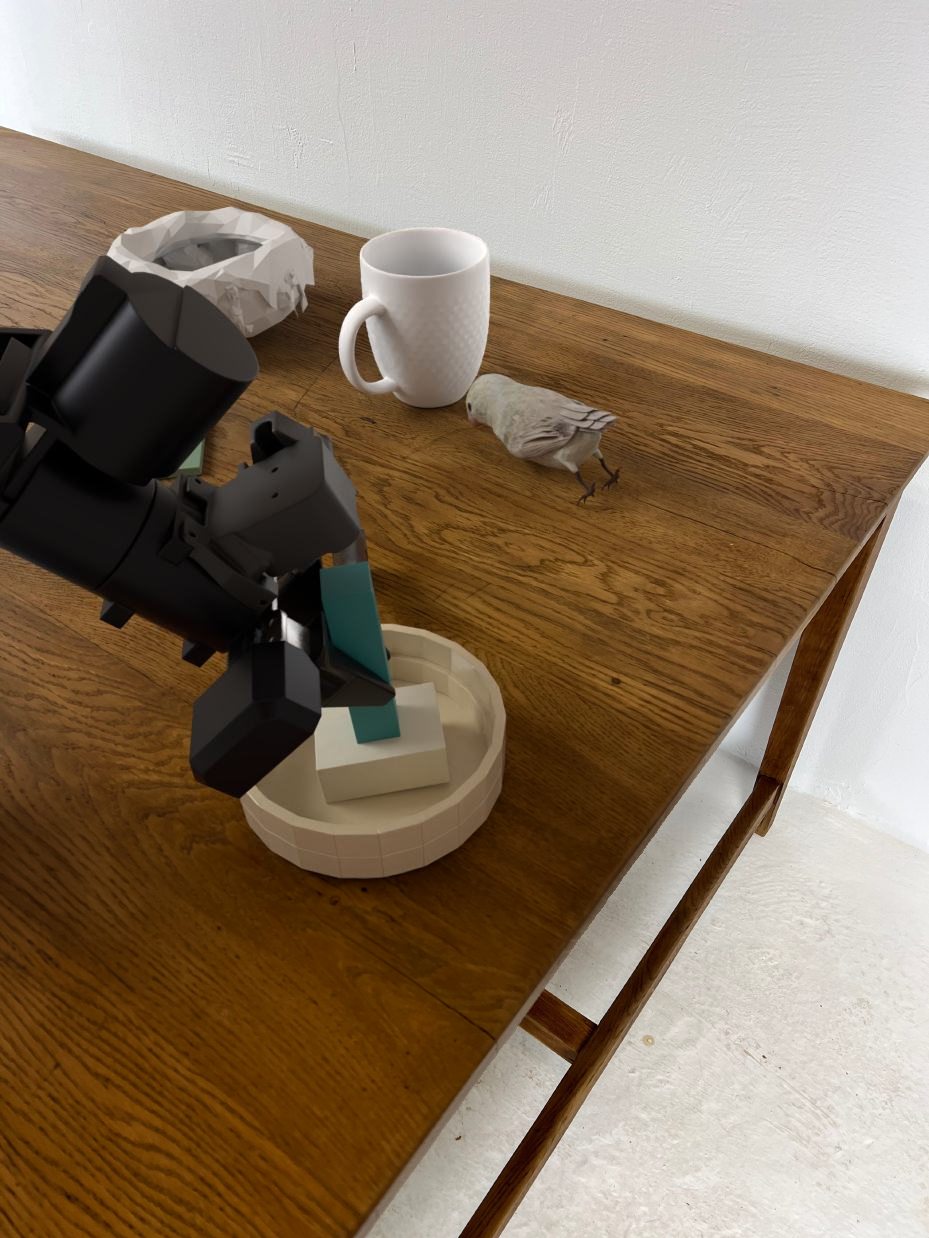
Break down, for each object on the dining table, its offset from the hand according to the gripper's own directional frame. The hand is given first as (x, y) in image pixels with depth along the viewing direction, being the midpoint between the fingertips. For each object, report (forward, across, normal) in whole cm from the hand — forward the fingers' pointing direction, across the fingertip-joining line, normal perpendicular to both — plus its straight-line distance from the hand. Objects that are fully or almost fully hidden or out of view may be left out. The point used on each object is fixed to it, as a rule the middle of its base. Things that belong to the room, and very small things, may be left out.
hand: (388, 679), depth 50 cm
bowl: (-3, +60, +14) cm, 62 cm away
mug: (+10, +43, 0) cm, 44 cm away
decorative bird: (+16, +30, -5) cm, 34 cm away
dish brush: (+4, 0, +5) cm, 6 cm away
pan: (+4, 0, +6) cm, 7 cm away
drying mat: (-8, +38, +18) cm, 42 cm away
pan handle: (+4, +12, +6) cm, 14 cm away
